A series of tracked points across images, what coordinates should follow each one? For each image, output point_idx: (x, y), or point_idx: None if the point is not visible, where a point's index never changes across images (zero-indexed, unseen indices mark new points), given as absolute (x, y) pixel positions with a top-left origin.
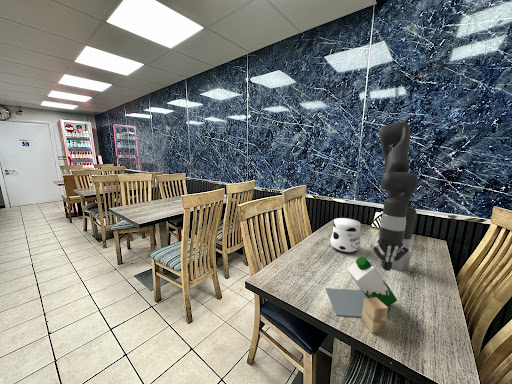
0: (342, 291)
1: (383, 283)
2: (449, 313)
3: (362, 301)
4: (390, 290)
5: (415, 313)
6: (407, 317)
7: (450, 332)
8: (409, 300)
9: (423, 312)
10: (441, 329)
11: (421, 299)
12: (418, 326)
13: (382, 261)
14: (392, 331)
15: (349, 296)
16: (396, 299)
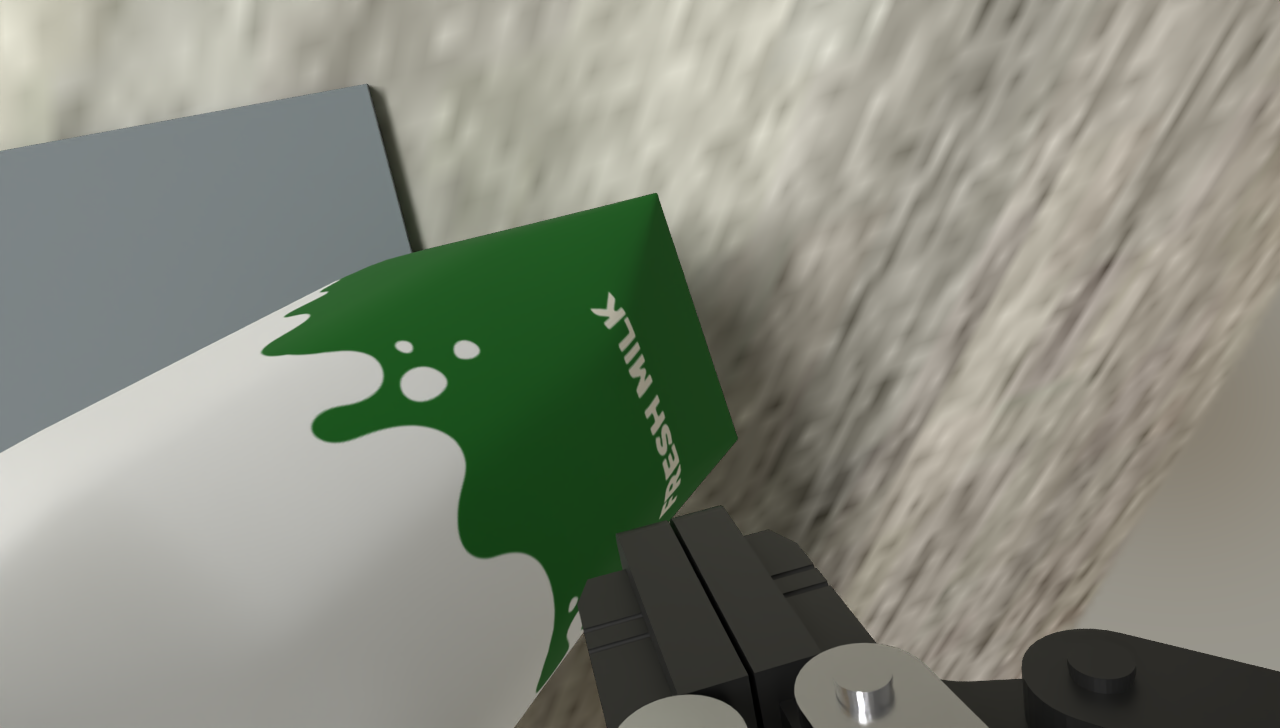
0: (20, 216)
1: (527, 708)
2: (1234, 242)
3: None
4: (665, 509)
5: (891, 357)
6: (776, 450)
7: (1059, 517)
8: (945, 125)
9: (984, 312)
10: (1007, 507)
11: (1101, 57)
12: (822, 541)
13: (602, 702)
14: (549, 691)
15: (135, 309)
16: (725, 452)
